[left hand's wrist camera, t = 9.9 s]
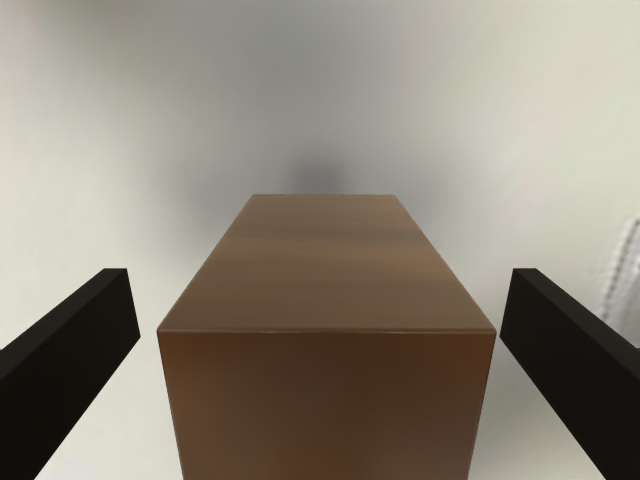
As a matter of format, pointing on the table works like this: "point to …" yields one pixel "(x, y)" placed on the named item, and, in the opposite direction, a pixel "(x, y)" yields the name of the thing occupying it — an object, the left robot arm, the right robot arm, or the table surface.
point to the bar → (325, 348)
